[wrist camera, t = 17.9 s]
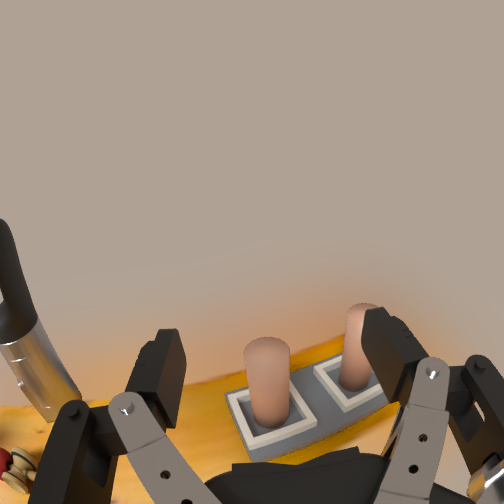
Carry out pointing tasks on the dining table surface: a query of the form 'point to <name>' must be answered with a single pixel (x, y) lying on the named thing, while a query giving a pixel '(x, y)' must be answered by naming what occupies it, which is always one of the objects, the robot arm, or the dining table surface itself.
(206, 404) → the dining table surface
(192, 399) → the dining table surface
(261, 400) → the post
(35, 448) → the dining table surface
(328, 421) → the grey peg holder
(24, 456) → the kendama
